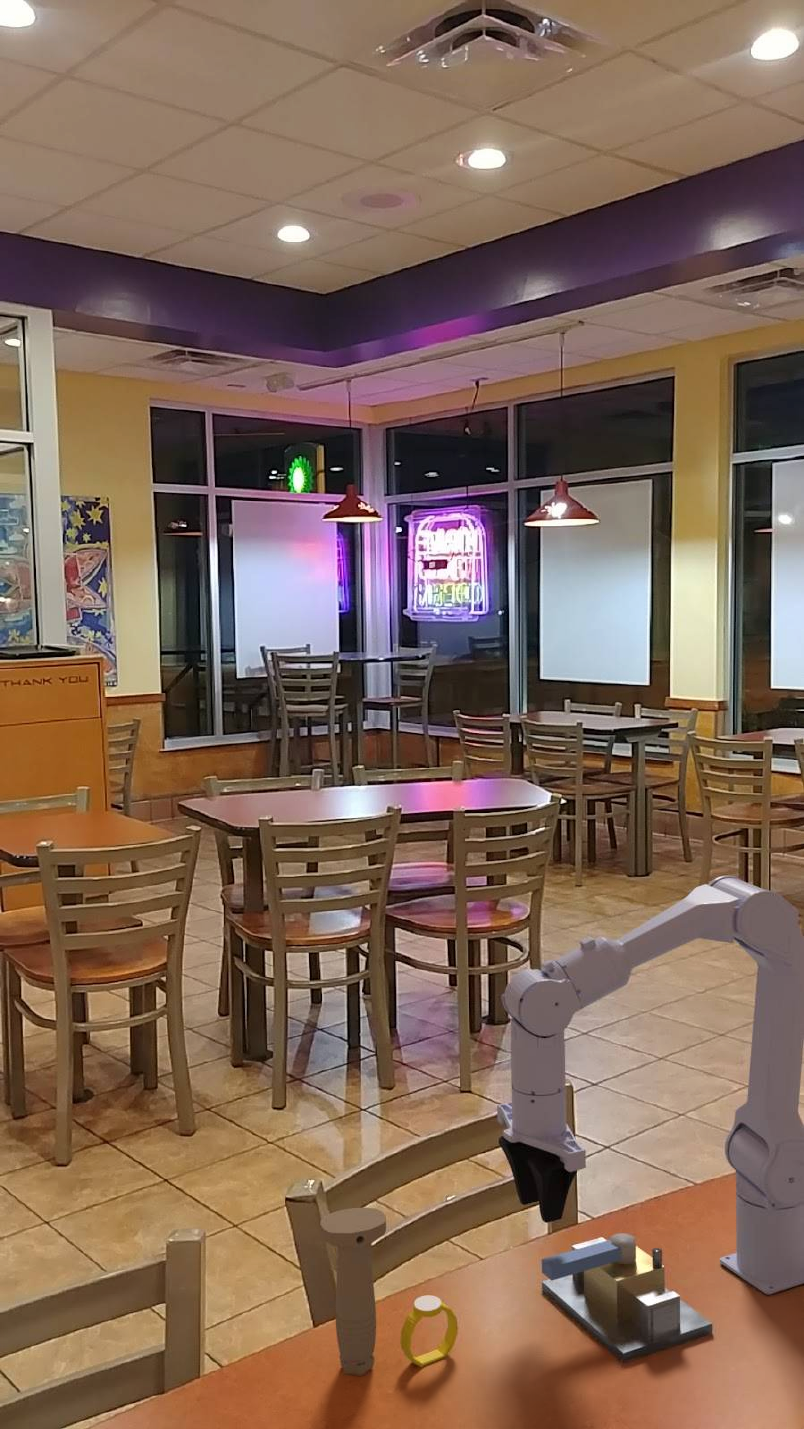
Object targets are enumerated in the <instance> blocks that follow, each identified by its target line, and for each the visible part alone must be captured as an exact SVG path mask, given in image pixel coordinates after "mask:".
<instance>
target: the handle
mask: <svg viewBox="0 0 804 1429" xmlns="http://www.w3.org/2000/svg"><path fill="white" fill-rule="evenodd" d="M319 1223H320V1225H319V1227H320V1235H321V1236H320V1237H321V1238H322V1239H323V1241H324V1242H326V1243H327V1244H329V1245H331V1246H335V1248H336V1287H335V1288H336V1289H335V1330H336V1331H335V1332H336V1338H337V1339H336V1340H337V1341H336V1342H337V1346H338V1351H339V1361H340V1366H341V1368H343V1372H344V1373H345V1374H346V1375H356V1376H357V1377H359V1376H360V1377H361V1376H364V1375H365V1373H367V1372H369V1371H370V1370H373V1368H374V1364H375V1363H374V1362H375V1355H374V1352H375V1346H376V1338H377V1337H376V1336H377V1305H376V1296H375V1295H376V1294H375V1283H374V1274H373V1261H372V1260H373V1258H372V1244H373V1242H375V1241H377V1240H379V1239H380V1238H381V1237H383V1236H384V1235H385V1234H386V1231H387V1218H386V1214H384V1212H383V1211H382V1210H380V1209H378V1208H375V1207H352V1208H345V1209H341V1210H337V1211H334V1212H332V1213H329V1214H326V1215H324V1216H322V1217H321V1219H320V1222H319Z"/></svg>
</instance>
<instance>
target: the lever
mask: <svg viewBox="0 0 804 1429" xmlns="http://www.w3.org/2000/svg"><path fill="white" fill-rule="evenodd" d="M636 1246H637V1240H636V1237H635V1236H633V1235H631V1234H629V1233H622V1232H620V1233H615V1234H613V1235H612V1236H611V1237H610V1239H608V1240H607V1241H604V1242H601V1243H597V1244H594V1245H590V1246H587V1247H583V1248H580V1249H576V1250H573V1251H572V1250H570V1251H569V1250H568V1251H566V1252H563V1253H559V1254H555V1255H552V1256H548V1257H544V1258H541V1273H542V1274H543V1275H544V1276H545V1277H546V1278H548V1280H549V1279H550V1280H551V1281H552V1280H555V1279H559V1278H562V1277H566V1276H569V1275H572V1274H576V1273H579V1272H583V1271H586V1270H589V1269H593V1268H596V1267H600V1266H603V1265H606V1264H610V1263H613V1262H616V1263H620V1264H631V1263H633V1262H635V1261H636Z"/></svg>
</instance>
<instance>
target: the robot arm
mask: <svg viewBox="0 0 804 1429" xmlns="http://www.w3.org/2000/svg"><path fill="white" fill-rule="evenodd" d="M799 913H800V912H799V910H798V909H797V908H795V907H794V905H792V904H791V903H790V902H789V901H788V900H786V898H784V897H783V896H782V895H781V894H779V893H777V892H775V891H772V890H767V889H763V888H761V887H759V886H756V885H754V884H751V883H748V882H746V881H744V880H742V879H741V878H739V877H737V876H734V875H722V876H718V877H716V878H714V879H712V880H711V881H710V882H709V883H708V884H707V883H706V884H702V885H700V886H696V887H694V889H693V890H692V891H691V892H689V894H688V895H687V896H686V897H684V898H683V899H682V900H680V901H678V902H676V903H674V904H673V905H672V906H670V907H669V908H667V909H664V911H662V912H660V913H659V914H657V915H655V916H654V917H652V918H650V919H649V920H647V921H646V922H643V923H642V924H640V925H639V926H637V927H636V928H634V929H633V930H631V931H629V932H627V933H626V934H624V935H622V936H621V937H619V938H618V939H610V938H608V937H605V936H598V937H596V938H592V937H591V936H589V935H588V936H586V937H585V938H583V939H581V940H579V945H580V946H579V947H578V948H575V949H574V950H572V951H569V952H568V953H566V954H564V955H562V956H560V957H558V958H556V959H555V960H553V961H552V960H550V959H547V960H544V961H543V962H541V964H540V965H541V968H540V969H537V968H534V969H532V968H526V969H522V970H520V971H519V972H516V973H515V974H514V975H513V976H512V977H511V978H510V982H508V983H507V984H506V987H505V990H504V993H503V994H501V996H500V997H501V1002H502V1005H503V1008H504V1010H505V1011H506V1013H507V1014H509V1016H510V1017H511V1018H510V1075H511V1076H510V1080H511V1081H510V1083H511V1085H510V1086H511V1101H510V1102H505V1103H501V1104H500V1103H499V1104H497V1105H496V1106H497V1107H496V1112H497V1113H496V1114H497V1115H496V1116H497V1123H499V1124H500V1125H506V1127H507V1128H506V1129H504V1130H503V1131H502V1132H503V1133H502V1134H503V1135H502V1136H500V1137H499V1138H498V1144H499V1146H500V1148H501V1150H502V1151H503V1153H504V1155H505V1158H506V1159H507V1160H506V1161H507V1162H508V1164H509V1167H510V1170H511V1174H512V1177H513V1180H514V1183H515V1188H516V1192H517V1196H518V1199H519V1202H520V1204H521V1205H523V1206H526V1205H531V1204H533V1203H537V1202H538V1205H539V1206H538V1207H539V1214H540V1218H541V1220H542V1221H543V1222H544V1223H545V1224H546V1223H547V1224H549V1223H551V1222H555V1221H558V1220H562V1218H563V1214H564V1210H565V1206H566V1204H567V1203H566V1201H567V1198H568V1194H569V1191H570V1187H571V1185H572V1183H573V1181H574V1179H575V1177H576V1175H577V1173H578V1171H580V1170H583V1169H586V1167H587V1165H586V1164H587V1163H586V1162H587V1159H586V1154H587V1153H586V1152H587V1151H586V1149H585V1148H583V1147H582V1146H581V1145H580V1143H578V1140H577V1139H576V1137H575V1135H574V1134H573V1132H572V1130H571V1129H570V1126H569V1125H568V1123H567V1088H566V1086H567V1085H566V1044H565V1030H566V1029H567V1028H568V1026H569V1025H570V1024H571V1022H572V1019H573V1017H574V1015H575V1014H576V1013H577V1012H578V1011H580V1010H582V1009H584V1008H587V1007H588V1006H590V1005H592V1004H594V1003H596V1002H598V1001H599V1000H601V999H603V998H605V997H607V996H608V995H610V994H612V993H614V992H616V991H618V990H620V989H622V988H623V987H625V986H627V984H628V983H629V980H630V977H631V975H632V970H633V969H634V968H636V967H639V966H641V965H643V964H645V963H647V962H649V961H651V960H654V959H655V958H657V957H660V956H663V955H664V954H667V953H669V952H671V951H673V950H675V949H677V948H679V947H681V946H684V945H686V944H688V943H690V942H693V941H695V940H697V939H703V940H708V941H714V942H719V943H721V942H722V943H728V944H734V942H735V943H738V945H739V946H740V947H741V948H742V949H743V950H744V951H745V953H747V954H748V955H749V957H751V958H752V960H754V962H756V964H757V965H756V966H757V970H756V973H757V974H756V984H755V985H756V986H755V997H754V998H755V999H754V1008H753V1022H752V1023H753V1025H752V1032H751V1033H752V1035H751V1036H752V1037H751V1045H750V1046H751V1048H750V1060H749V1061H750V1062H749V1071H748V1072H749V1074H748V1086H747V1100H746V1101H745V1103H743V1104H742V1105H740V1106H739V1107H738V1108H737V1109H736V1110H735V1112H734V1113H735V1114H734V1121H733V1125H732V1127H731V1130H730V1132H729V1133H728V1135H727V1137H726V1139H725V1142H724V1154H725V1158H726V1160H727V1163H728V1164H729V1165H730V1167H731V1168H732V1169H734V1170H735V1221H736V1222H735V1224H736V1225H735V1227H736V1228H735V1229H736V1230H735V1232H736V1235H735V1236H736V1237H735V1238H736V1239H735V1240H736V1242H735V1243H736V1246H735V1247H736V1252H734V1253H731V1254H728V1255H725V1256H721V1257H719V1263H720V1264H721V1265H723V1266H724V1267H726V1268H727V1269H729V1270H730V1271H732V1272H733V1273H734V1274H736V1275H737V1276H739V1277H740V1278H741V1279H743V1280H744V1281H746V1282H748V1284H750V1285H752V1286H753V1287H754V1288H756V1289H758V1290H759V1291H761V1292H762V1293H764V1294H765V1295H772V1294H775V1293H778V1292H781V1291H784V1290H788V1289H790V1288H793V1287H796V1286H799V1285H802V1284H804V1122H803V1121H802V1118H801V1116H800V1114H799V1105H800V1093H801V1078H802V1069H803V1068H802V1067H803V1056H804V934H803V932H802V930H801V927H800V924H799V915H800V914H799Z"/></svg>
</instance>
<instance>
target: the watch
mask: <svg viewBox="0 0 804 1429" xmlns="http://www.w3.org/2000/svg"><path fill="white" fill-rule="evenodd" d="M413 1307H414V1308H413V1309H412V1311H411V1312H409V1314H408V1315H407V1317H406V1318H405V1321H404V1323H403V1325H402V1328H401V1331H400V1347H401V1349H402V1352H403V1354H404V1356H405V1357H406V1359H408V1360H409V1361H410V1362H412V1363H413V1364H414V1365H416V1366H418V1367H419V1368H425V1366H427V1365H429V1364H432V1363H435V1362H437V1361H439V1360H442V1359H445V1358H446V1357H447V1356H448V1354H449V1353H450V1352H451V1350H452V1349H453V1347H454V1345H455V1343H456V1339H457V1336H458V1331H459V1329H458V1319H457V1316H456V1315H455V1313H454V1312H453V1310H452V1309H451V1308H450V1307H449V1306H447V1305H446V1304H445V1303H444V1302H442V1300H441V1299H440V1297H438V1296H436V1295H429V1294H428V1295H422V1296H419V1297H417V1298H416V1299H415V1300H414V1303H413ZM442 1311H444V1312H445V1314H446V1319H447V1328H446V1332H445V1336H444V1339H443V1340H442V1341H441V1343H440V1344H439V1345H438V1347H437V1349H434V1350H432V1351H428V1352H427V1353H424V1354H421V1355H418V1356H414V1354H413V1352H412V1350H411V1343H412V1342H411V1340H412V1335H413V1332H414V1330H415V1327H416V1325H417V1324H418V1323H419V1321H420V1320H421V1319H422V1318H431V1317H436V1316H437V1315H439V1314H440V1313H442Z"/></svg>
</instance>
